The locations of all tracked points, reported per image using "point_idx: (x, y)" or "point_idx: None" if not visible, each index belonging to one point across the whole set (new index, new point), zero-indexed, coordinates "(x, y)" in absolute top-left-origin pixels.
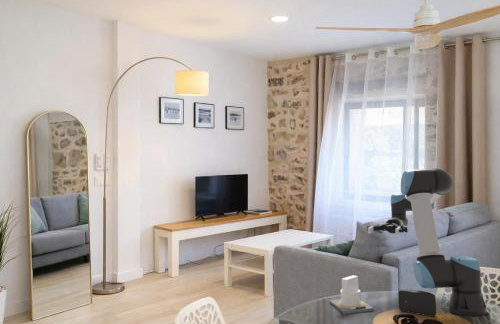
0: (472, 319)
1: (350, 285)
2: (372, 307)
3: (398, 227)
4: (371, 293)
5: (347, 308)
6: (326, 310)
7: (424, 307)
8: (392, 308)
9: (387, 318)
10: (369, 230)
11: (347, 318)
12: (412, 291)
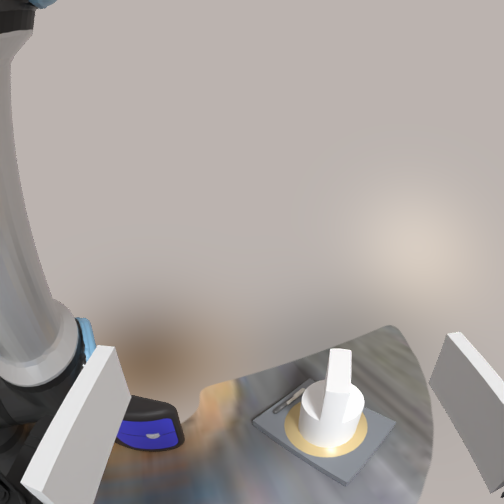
0: None
1: (326, 376)
2: (257, 422)
3: (55, 452)
4: None
5: None
6: (358, 384)
7: None
8: (207, 455)
9: (204, 391)
10: (440, 359)
11: (288, 367)
12: (131, 396)
